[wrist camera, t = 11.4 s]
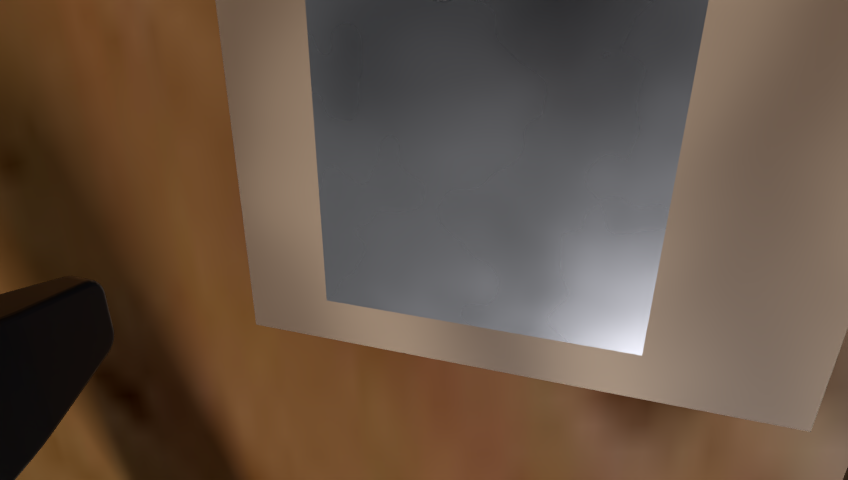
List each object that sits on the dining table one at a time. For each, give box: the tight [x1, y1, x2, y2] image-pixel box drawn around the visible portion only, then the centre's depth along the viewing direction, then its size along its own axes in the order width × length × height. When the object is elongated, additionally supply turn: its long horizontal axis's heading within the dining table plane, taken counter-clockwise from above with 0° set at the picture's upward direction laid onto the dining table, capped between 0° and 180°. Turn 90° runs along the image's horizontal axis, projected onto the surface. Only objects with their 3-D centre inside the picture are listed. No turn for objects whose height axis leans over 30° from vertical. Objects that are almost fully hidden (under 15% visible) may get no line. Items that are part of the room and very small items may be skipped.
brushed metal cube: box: [305, 0, 709, 356], centre depth 14 cm, size 6×6×5 cm
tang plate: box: [215, 0, 848, 432], centre depth 16 cm, size 16×16×4 cm
